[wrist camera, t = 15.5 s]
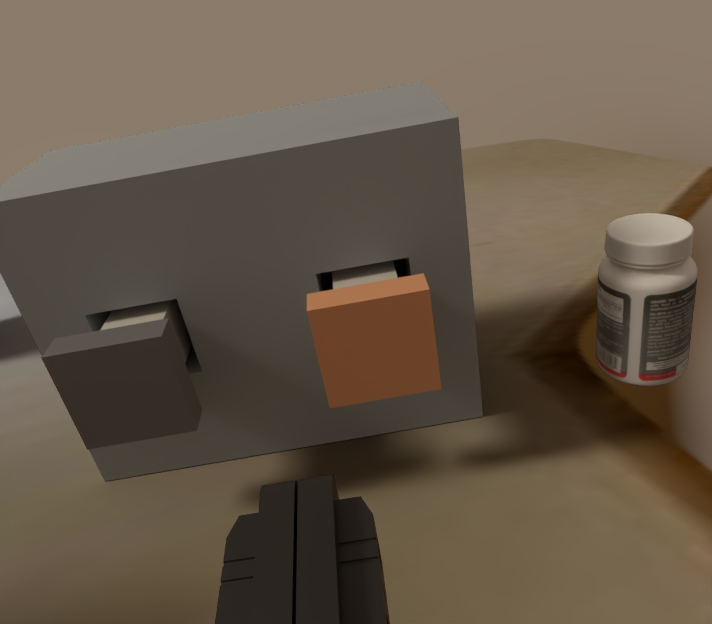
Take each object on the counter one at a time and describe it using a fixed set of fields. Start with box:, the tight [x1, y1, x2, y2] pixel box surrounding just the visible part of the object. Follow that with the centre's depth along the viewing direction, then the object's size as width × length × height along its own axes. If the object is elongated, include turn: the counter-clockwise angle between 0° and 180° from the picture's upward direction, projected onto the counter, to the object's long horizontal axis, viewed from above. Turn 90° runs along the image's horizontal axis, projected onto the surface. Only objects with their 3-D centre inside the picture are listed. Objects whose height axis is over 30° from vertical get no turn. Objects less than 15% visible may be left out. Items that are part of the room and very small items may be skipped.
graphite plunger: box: [41, 299, 202, 450], centre depth 30 cm, size 10×5×5 cm, turn 4°
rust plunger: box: [307, 260, 442, 408], centre depth 30 cm, size 10×5×5 cm, turn 4°
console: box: [0, 81, 483, 481], centre depth 34 cm, size 10×21×16 cm, turn 94°
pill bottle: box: [596, 213, 697, 386], centre depth 33 cm, size 5×5×8 cm
